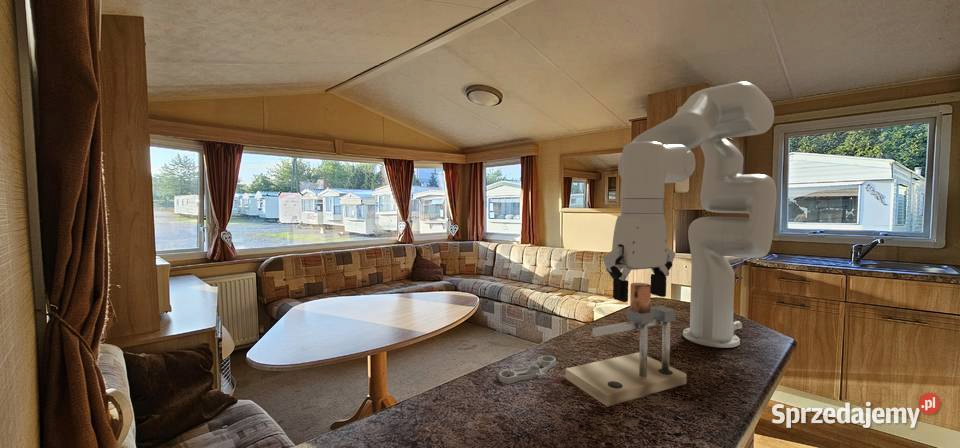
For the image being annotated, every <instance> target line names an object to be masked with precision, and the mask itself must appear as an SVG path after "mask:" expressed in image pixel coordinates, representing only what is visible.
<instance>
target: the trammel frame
mask: <svg viewBox="0 0 960 448" xmlns="http://www.w3.org/2000/svg"><path fill="white" fill-rule="evenodd" d="M650 311H652V312H653V322H652V323H648V328H649V327H652V326H653V327H654V326H660V325H662V326H661V327H662V328H661V329H662V330H661V332H662V335H661V337H662V338H661V363H662V368H661V371H662V372H664V373H669V366H670V362H671V361H670V360H671V358H670V353H671V322H672V321H676V313H677V311H676V309H674V308H670V307H666V306H664V305H656V306H650ZM637 329H638V330H640V324H639V323H636V322H634V321H631V320H628V321H624V322H620V323H619V322H618V323H613V324H608V325H603V326H597V327H592V335H593V336H595V337H601V336H607V335H612V334H617V333H622V332H627V331H632V330H637Z"/></svg>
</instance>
